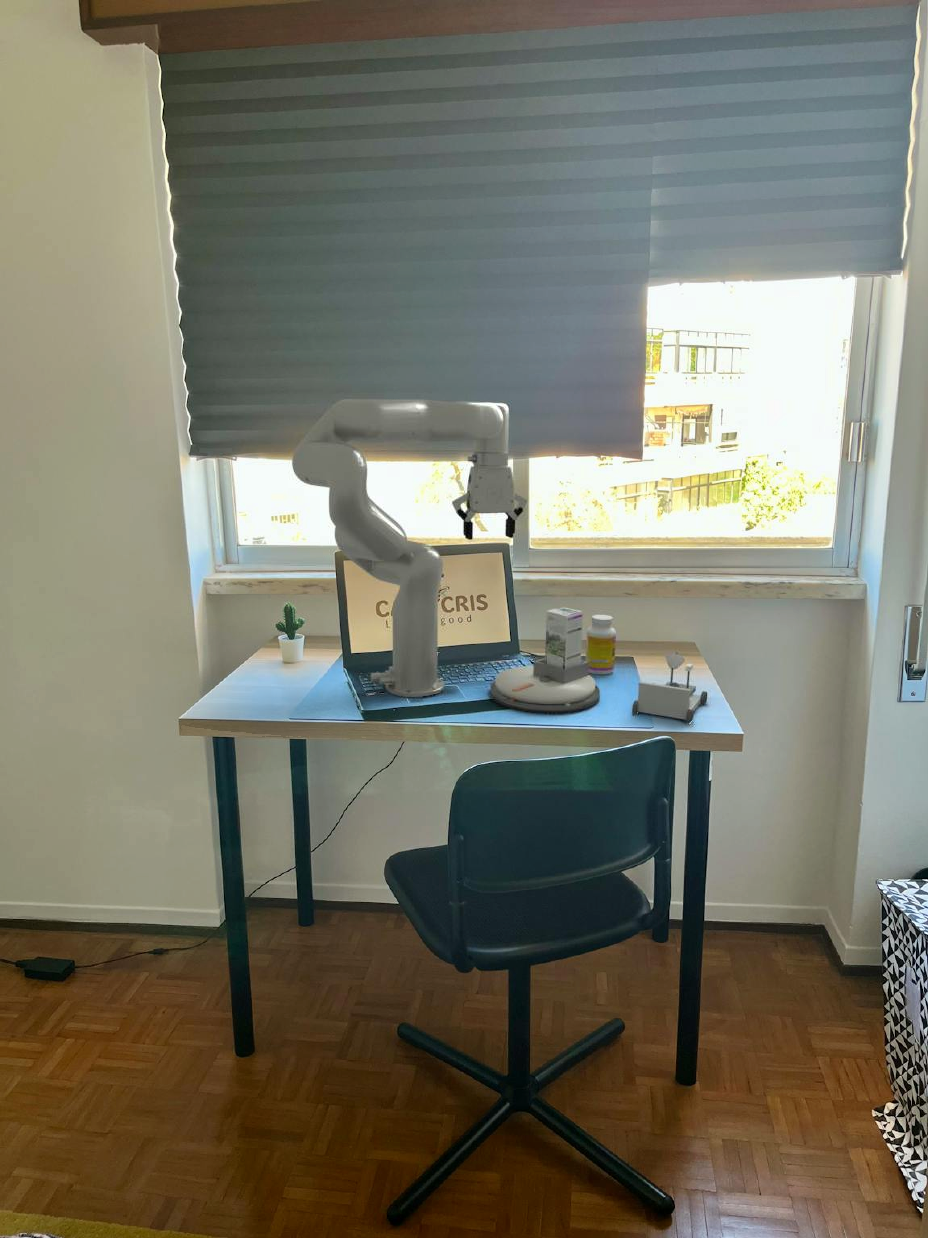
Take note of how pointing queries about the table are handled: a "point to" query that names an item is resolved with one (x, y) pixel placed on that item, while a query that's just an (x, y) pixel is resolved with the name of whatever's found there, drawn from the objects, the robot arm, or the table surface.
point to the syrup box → (563, 637)
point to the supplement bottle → (601, 645)
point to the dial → (546, 683)
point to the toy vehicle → (669, 695)
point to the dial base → (545, 708)
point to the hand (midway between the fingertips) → (489, 537)
